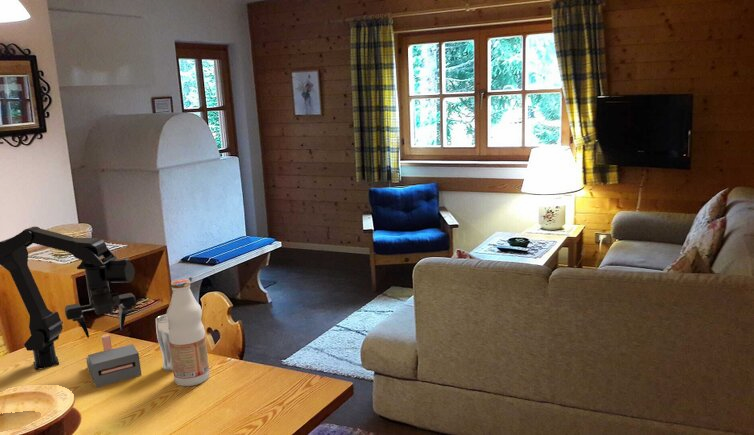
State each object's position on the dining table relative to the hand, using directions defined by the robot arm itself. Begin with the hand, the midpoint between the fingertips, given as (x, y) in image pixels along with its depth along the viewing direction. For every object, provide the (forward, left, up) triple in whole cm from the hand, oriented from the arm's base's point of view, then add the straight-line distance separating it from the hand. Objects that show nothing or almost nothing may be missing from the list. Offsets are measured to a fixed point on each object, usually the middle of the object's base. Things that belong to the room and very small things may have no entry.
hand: (105, 333), depth 182 cm
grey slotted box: (+7, 0, -9) cm, 12 cm away
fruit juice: (+27, +17, -10) cm, 33 cm away
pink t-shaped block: (+7, 0, -6) cm, 9 cm away
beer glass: (+15, +15, -10) cm, 23 cm away
